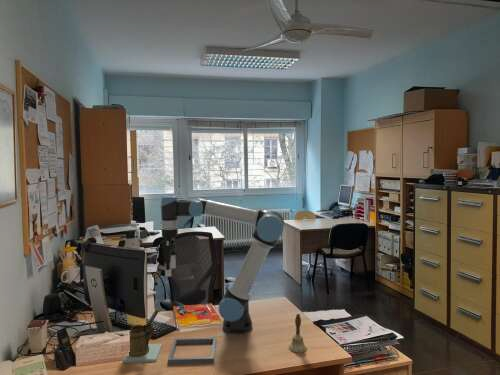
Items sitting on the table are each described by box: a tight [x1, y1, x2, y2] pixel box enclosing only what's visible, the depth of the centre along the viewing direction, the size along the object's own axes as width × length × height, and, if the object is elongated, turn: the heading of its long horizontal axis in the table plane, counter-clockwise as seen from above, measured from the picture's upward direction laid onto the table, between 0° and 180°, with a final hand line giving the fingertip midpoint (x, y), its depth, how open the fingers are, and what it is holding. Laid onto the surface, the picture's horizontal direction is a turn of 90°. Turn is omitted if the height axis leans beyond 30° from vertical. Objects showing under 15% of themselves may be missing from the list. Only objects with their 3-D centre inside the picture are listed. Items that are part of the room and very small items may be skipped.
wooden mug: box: [129, 310, 159, 357], centre depth 172 cm, size 9×14×18 cm, turn 102°
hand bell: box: [288, 313, 307, 354], centre depth 176 cm, size 8×8×16 cm
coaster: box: [122, 343, 163, 363], centre depth 173 cm, size 14×14×1 cm
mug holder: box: [167, 337, 217, 365], centre depth 174 cm, size 19×19×2 cm
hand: (170, 272), depth 188 cm, fingers open, 13 cm apart
